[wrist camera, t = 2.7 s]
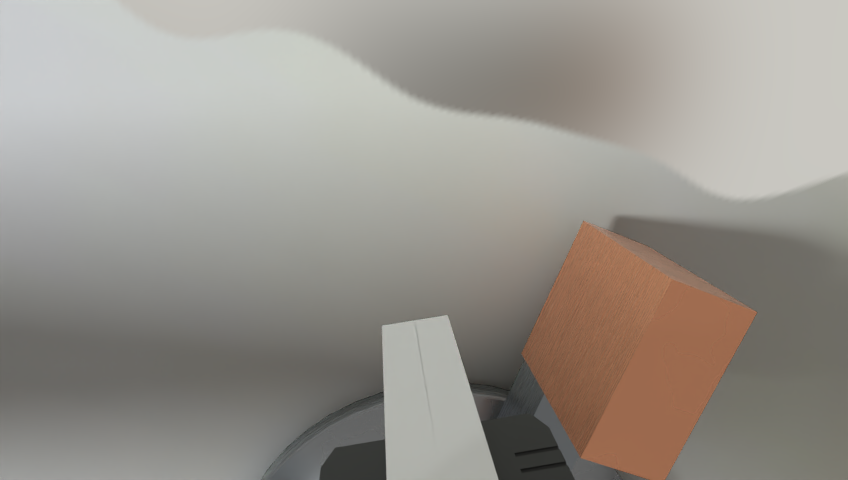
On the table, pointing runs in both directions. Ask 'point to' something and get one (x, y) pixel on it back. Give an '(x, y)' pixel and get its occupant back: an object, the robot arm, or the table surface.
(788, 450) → the table surface
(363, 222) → the table surface
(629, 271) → the tan and copper piece
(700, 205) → the table surface
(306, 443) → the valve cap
